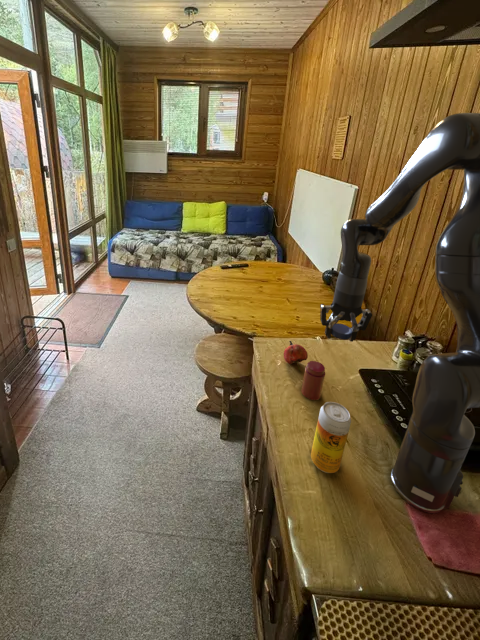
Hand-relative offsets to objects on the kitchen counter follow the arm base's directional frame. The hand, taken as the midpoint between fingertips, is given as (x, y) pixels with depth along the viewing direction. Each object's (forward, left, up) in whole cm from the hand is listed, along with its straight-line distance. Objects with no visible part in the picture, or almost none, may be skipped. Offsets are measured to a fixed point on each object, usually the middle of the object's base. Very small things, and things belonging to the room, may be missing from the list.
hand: (339, 338), depth 93 cm
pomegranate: (+11, -3, -14) cm, 18 cm away
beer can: (+8, +31, -14) cm, 35 cm away
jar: (+8, +10, -14) cm, 18 cm away
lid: (0, 0, +3) cm, 3 cm away
